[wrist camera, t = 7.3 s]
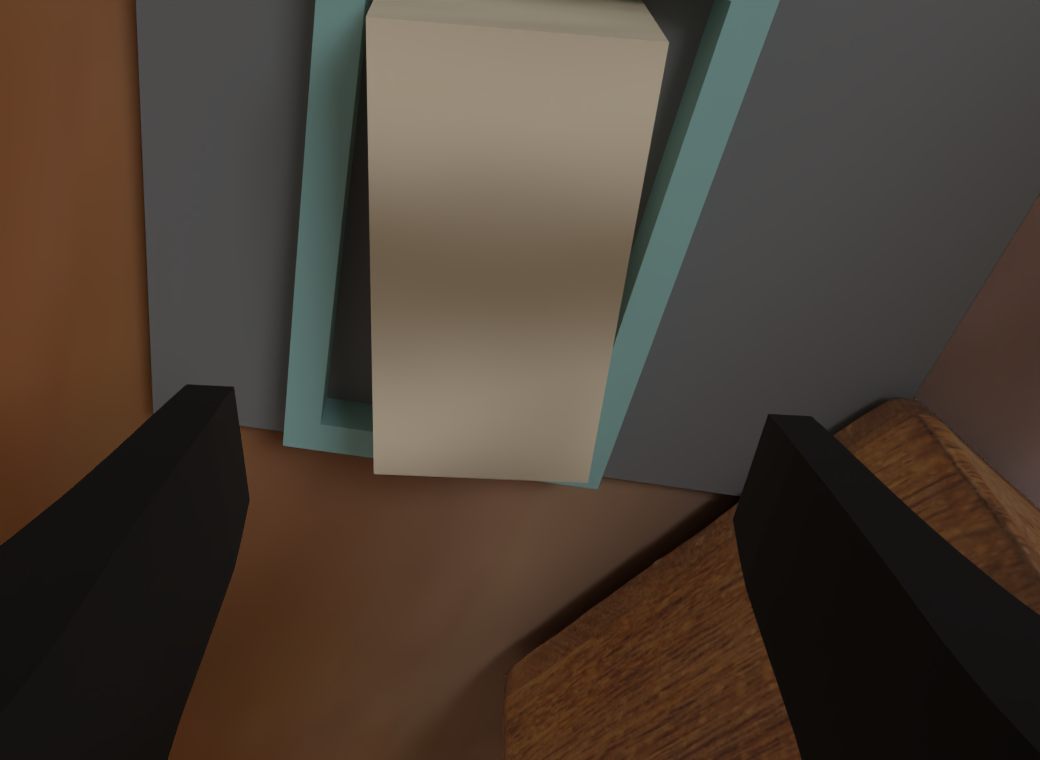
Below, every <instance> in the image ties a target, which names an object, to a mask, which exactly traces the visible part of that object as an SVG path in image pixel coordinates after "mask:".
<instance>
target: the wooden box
mask: <svg viewBox="0 0 1040 760" xmlns="http://www.w3.org/2000/svg"><path fill="white" fill-rule="evenodd" d="M833 436H834V437H835V438H836V439H837V440H838V441H839V442H840V443H841V444H843V445H844V446H845V447H846V448H847V449H848V450H849V451H850V452H851V453H852V454H853V455H854V456H855V457H856V458H857V459H858V460H859V461H860V462H861V463H863V464H864V465H865V466H866V467H867V468H868V469H869V470H870V471H871V472H872V473H873V474H874V475H875V476H876V477H877V478H878V479H879V480H880V481H881V482H882V483H884V484H885V485H886V486H887V487H888V488H889V489H890V490H891V491H892V492H893V493H894V494H895V495H896V496H897V497H898V498H900V499H901V500H902V501H903V502H904V503H905V504H906V505H907V506H908V507H909V508H910V509H911V510H913V511H914V512H915V513H916V514H917V515H918V516H919V517H920V518H921V519H922V520H924V521H925V522H926V523H927V524H928V525H929V526H930V527H931V528H933V529H934V530H935V531H936V532H937V533H938V534H939V535H941V536H942V537H943V538H944V539H945V540H946V541H947V542H949V543H950V544H951V545H952V546H953V547H954V548H955V549H957V550H958V551H959V552H960V553H962V554H963V555H964V556H965V557H966V558H968V559H969V560H970V561H971V562H972V563H974V564H975V565H976V566H977V567H978V568H980V569H981V570H982V571H983V572H984V573H986V574H987V575H988V576H989V577H990V578H992V579H993V580H994V581H995V582H997V583H998V584H999V585H1000V586H1002V587H1003V588H1004V589H1006V590H1007V591H1008V592H1009V593H1011V594H1012V595H1013V596H1015V597H1016V598H1017V599H1018V600H1020V601H1021V602H1022V603H1024V604H1025V605H1027V606H1028V607H1029V608H1031V609H1032V610H1033V611H1035V612H1036V613H1038V614H1039V615H1040V509H1039V508H1037V507H1036V506H1035V505H1034V504H1033V503H1032V502H1031V501H1030V500H1029V499H1027V498H1026V497H1025V496H1024V495H1023V494H1022V493H1021V492H1019V491H1018V490H1017V489H1016V488H1015V487H1014V486H1013V485H1011V484H1010V483H1009V482H1008V481H1007V480H1006V479H1005V478H1004V477H1002V476H1001V475H1000V474H999V473H998V472H997V471H995V470H994V469H993V468H992V467H991V466H990V465H989V464H988V463H986V462H985V461H984V460H983V459H982V458H981V457H980V456H979V455H978V454H977V453H976V452H975V451H973V450H972V449H971V448H970V447H969V446H968V445H967V444H966V443H965V442H964V441H963V440H962V439H961V438H960V437H959V436H957V435H956V434H955V433H954V432H953V431H952V430H951V429H950V428H949V427H948V426H947V425H946V424H944V423H943V422H942V421H941V420H940V419H939V418H938V417H937V416H936V415H935V414H934V413H932V412H931V411H930V410H929V409H928V408H927V407H925V406H924V405H923V404H921V403H919V402H917V401H914V400H910V399H907V398H901V397H894V398H891V399H890V400H888V401H886V402H884V403H882V404H881V405H879V406H877V407H875V408H874V409H872V410H871V411H869V412H868V413H866V414H864V415H863V416H861V417H860V418H858V419H857V420H855V421H854V422H852V423H851V424H849V425H848V426H847V427H845V428H843V429H842V430H840V431H838V432H837V433H836V434H834V435H833ZM737 505H738V503H737V504H736V505H734V506H733V507H732V508H731V509H729V510H728V511H727V512H725V513H724V514H722V515H721V516H720V517H718V518H717V519H716V520H715V521H714V522H712V523H711V524H709V525H708V526H707V527H706V528H704V529H703V530H701V531H700V532H699V533H697V534H696V535H694V536H693V537H691V538H690V539H688V540H687V541H685V542H684V543H683V544H681V545H680V546H678V547H677V548H676V549H674V550H673V551H671V552H670V553H668V554H667V555H665V556H664V557H662V558H660V559H658V560H656V561H655V562H654V563H653V564H652V565H651V566H650V567H648V568H647V569H645V570H644V571H643V572H641V573H640V574H638V575H637V576H635V577H634V578H633V579H631V580H630V581H628V582H627V583H626V584H624V585H623V586H622V587H620V588H619V589H617V590H616V591H615V592H613V594H611V595H610V596H608V597H607V598H605V599H604V600H602V601H601V602H599V603H598V604H596V605H595V606H594V607H592V608H591V609H590V610H588V611H587V612H586V613H584V614H582V615H581V616H580V617H579V618H578V619H576V620H575V621H574V622H573V623H572V624H570V625H568V626H567V627H566V628H565V629H564V630H562V631H561V632H559V633H558V634H556V635H555V636H554V637H552V638H551V639H549V640H547V641H546V642H545V643H543V644H542V645H540V646H538V647H537V648H536V649H534V650H533V651H532V652H530V653H529V654H527V655H526V656H525V657H524V658H522V659H521V660H520V661H518V662H517V663H515V664H514V666H513V667H512V668H511V669H510V671H509V672H507V673H506V674H505V675H504V680H505V688H504V711H503V751H502V760H802V759H801V756H800V752H799V749H798V745H797V742H796V738H795V735H794V732H793V729H792V726H791V723H790V720H789V717H788V714H787V711H786V708H785V705H784V702H783V699H782V696H781V693H780V690H779V687H778V684H777V681H776V678H775V675H774V672H773V669H772V666H771V663H770V660H769V657H768V654H767V651H766V648H765V645H764V642H763V639H762V636H761V633H760V630H759V627H758V624H757V621H756V618H755V615H754V612H753V609H752V606H751V603H750V600H749V596H748V593H747V590H746V587H745V583H744V578H743V573H742V568H741V563H740V558H739V553H738V547H737V541H736V535H735V530H734V524H733V517H734V514H735V511H736V508H737Z"/></svg>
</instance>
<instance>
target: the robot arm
mask: <svg viewBox="0 0 1040 760" xmlns="http://www.w3.org/2000/svg"><path fill="white" fill-rule="evenodd" d="M249 500H250V499H249V492H248V485H247V477H246V470H245V463H244V455H243V448H242V441H241V433H240V426H239V419H238V411H237V404H236V397H235V389H234V387H232V386H212V385H193V384H186V385H185V386H184V387H183V388H182V389H181V390H179V391H178V392H177V393H176V394H175V395H174V396H173V397H172V398H170V399H169V400H168V401H167V402H166V403H165V404H164V405H163V406H162V407H161V408H160V409H159V410H157V411H156V412H155V413H154V414H153V415H152V416H151V417H150V418H149V419H148V420H147V421H146V422H145V423H144V424H143V425H141V426H140V427H139V428H138V429H137V430H136V431H135V432H134V433H133V434H132V435H131V436H130V437H129V438H127V439H126V440H125V441H124V442H123V443H122V444H121V445H120V446H119V447H118V448H117V449H116V450H114V451H113V452H112V453H111V454H110V455H109V456H108V457H107V458H105V459H104V460H103V461H102V462H101V463H100V464H99V465H98V466H96V467H95V468H94V469H93V470H92V471H91V472H90V473H89V474H87V475H86V476H85V477H84V478H83V479H82V480H81V481H79V482H78V483H77V484H76V485H75V486H74V487H73V488H71V489H70V490H69V491H68V492H67V493H66V494H64V495H63V496H62V497H61V498H60V499H58V500H57V501H56V502H55V503H53V504H52V505H51V506H50V507H48V508H47V509H46V510H45V511H43V512H42V513H41V514H40V515H39V516H37V517H36V518H35V519H34V520H32V521H31V522H30V523H29V524H27V525H26V526H25V527H24V528H22V529H21V530H20V531H19V532H17V533H16V534H15V535H14V536H12V537H11V538H10V539H9V540H7V541H6V542H5V543H3V544H2V545H1V546H0V760H168V756H169V753H170V750H171V747H172V743H173V740H174V737H175V734H176V731H177V727H178V724H179V721H180V718H181V715H182V713H183V710H184V707H185V704H186V702H187V699H188V696H189V693H190V691H191V688H192V685H193V682H194V680H195V677H196V674H197V671H198V669H199V666H200V663H201V660H202V658H203V655H204V652H205V649H206V647H207V644H208V641H209V638H210V636H211V633H212V630H213V627H214V625H215V622H216V619H217V616H218V613H219V611H220V608H221V605H222V602H223V599H224V597H225V594H226V591H227V588H228V585H229V582H230V580H231V577H232V574H233V571H234V568H235V564H236V560H237V555H238V551H239V547H240V542H241V538H242V533H243V529H244V524H245V519H246V514H247V510H248V505H249ZM733 524H734V530H735V535H736V541H737V547H738V553H739V558H740V563H741V568H742V573H743V578H744V583H745V587H746V590H747V593H748V596H749V600H750V603H751V606H752V609H753V612H754V615H755V618H756V621H757V624H758V627H759V630H760V633H761V636H762V639H763V642H764V645H765V648H766V651H767V654H768V657H769V660H770V663H771V666H772V669H773V672H774V675H775V678H776V681H777V684H778V687H779V690H780V693H781V696H782V699H783V702H784V705H785V708H786V711H787V714H788V717H789V720H790V723H791V726H792V729H793V732H794V735H795V738H796V742H797V745H798V749H799V752H800V756H801V759H802V760H1040V615H1039V614H1038V613H1036V612H1035V611H1033V610H1032V609H1031V608H1029V607H1028V606H1027V605H1025V604H1024V603H1022V602H1021V601H1020V600H1018V599H1017V598H1016V597H1015V596H1013V595H1012V594H1011V593H1009V592H1008V591H1007V590H1006V589H1004V588H1003V587H1002V586H1000V585H999V584H998V583H997V582H995V581H994V580H993V579H992V578H990V577H989V576H988V575H987V574H986V573H984V572H983V571H982V570H981V569H980V568H978V567H977V566H976V565H975V564H974V563H972V562H971V561H970V560H969V559H968V558H966V557H965V556H964V555H963V554H962V553H960V552H959V551H958V550H957V549H955V548H954V547H953V546H952V545H951V544H950V543H949V542H947V541H946V540H945V539H944V538H943V537H942V536H941V535H939V534H938V533H937V532H936V531H935V530H934V529H933V528H931V527H930V526H929V525H928V524H927V523H926V522H925V521H924V520H922V519H921V518H920V517H919V516H918V515H917V514H916V513H915V512H914V511H913V510H911V509H910V508H909V507H908V506H907V505H906V504H905V503H904V502H903V501H902V500H901V499H900V498H898V497H897V496H896V495H895V494H894V493H893V492H892V491H891V490H890V489H889V488H888V487H887V486H886V485H885V484H884V483H882V482H881V481H880V480H879V479H878V478H877V477H876V476H875V475H874V474H873V473H872V472H871V471H870V470H869V469H868V468H867V467H866V466H865V465H864V464H863V463H861V462H860V461H859V460H858V459H857V458H856V457H855V456H854V455H853V454H852V453H851V452H850V451H849V450H848V449H847V448H846V447H845V446H844V445H843V444H841V443H840V442H839V441H838V440H837V439H836V438H835V437H834V436H833V435H832V434H831V433H830V432H829V431H828V430H826V429H825V428H824V427H823V426H822V425H821V424H820V423H819V422H817V421H816V420H815V419H814V418H813V417H812V416H799V415H780V414H768V416H767V419H766V422H765V425H764V428H763V431H762V434H761V437H760V440H759V443H758V446H757V449H756V452H755V455H754V458H753V461H752V464H751V467H750V470H749V473H748V476H747V478H746V481H745V484H744V487H743V490H742V493H741V496H740V499H739V502H738V505H737V508H736V511H735V514H734V517H733Z"/></svg>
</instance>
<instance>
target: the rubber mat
mask: <svg viewBox="0 0 1040 760" xmlns="http://www.w3.org/2000/svg"><path fill="white" fill-rule="evenodd" d="M315 1H316V0H136V16H137V40H138V64H139V87H140V111H141V135H142V158H143V182H144V206H145V229H146V253H147V277H148V300H149V324H150V348H151V371H152V395H153V413H155V412H156V411H157V410H159V409H160V408H161V407H162V406H163V405H164V404H165V403H166V402H167V401H168V400H169V399H170V398H172V397H173V396H174V395H175V394H176V393H177V392H178V391H179V390H181V389H182V388H183V387H184V386H185V385H186V384H193V385H212V386H232V387H234V389H235V397H236V404H237V411H238V419H239V426H246V427H253V428H260V429H267V430H274V431H281V432H284V423H285V409H286V396H287V382H288V368H289V355H290V341H291V328H292V314H293V300H294V287H295V273H296V260H297V246H298V232H299V219H300V205H301V192H302V178H303V165H304V151H305V137H306V124H307V110H308V97H309V83H310V69H311V56H312V42H313V29H314V15H315ZM642 1H643V3H644V4H645V6H646V7H647V9H648V11H649V12H650V14H651V15H652V17H653V18H654V20H655V21H656V23H657V24H658V26H659V27H660V29H661V30H662V32H663V34H664V35H665V37H666V38H667V40H668V41H669V46H668V52H667V57H666V62H665V68H664V73H663V79H662V84H661V89H660V95H659V100H658V106H657V111H656V117H655V122H654V127H653V133H652V138H651V144H650V149H649V154H648V160H647V165H646V171H645V176H644V182H643V187H642V192H641V198H640V203H639V209H638V214H637V220H636V225H635V230H634V236H633V241H632V247H631V251H632V248H633V245H634V242H635V239H636V236H637V233H638V229H639V226H640V223H641V220H642V217H643V214H644V211H645V208H646V205H647V202H648V199H649V196H650V193H651V190H652V187H653V184H654V181H655V178H656V175H657V172H658V169H659V166H660V163H661V160H662V157H663V154H664V151H665V148H666V145H667V142H668V139H669V136H670V133H671V130H672V127H673V124H674V121H675V117H676V114H677V111H678V108H679V105H680V102H681V99H682V96H683V93H684V90H685V87H686V84H687V81H688V78H689V75H690V72H691V69H692V66H693V63H694V60H695V57H696V54H697V51H698V48H699V45H700V42H701V39H702V36H703V33H704V30H705V27H706V24H707V21H708V18H709V15H710V12H711V9H712V6H713V2H714V0H642ZM372 2H373V0H370V6H371V4H372ZM369 8H370V7H369ZM1039 194H1040V0H780V1H779V4H778V7H777V9H776V12H775V15H774V17H773V20H772V23H771V25H770V28H769V31H768V34H767V36H766V39H765V42H764V44H763V47H762V50H761V52H760V55H759V58H758V60H757V63H756V66H755V68H754V71H753V74H752V76H751V79H750V82H749V85H748V87H747V90H746V93H745V95H744V98H743V101H742V103H741V106H740V109H739V111H738V114H737V117H736V119H735V122H734V125H733V127H732V130H731V133H730V135H729V138H728V141H727V144H726V146H725V149H724V152H723V154H722V157H721V160H720V162H719V165H718V168H717V170H716V173H715V176H714V178H713V181H712V184H711V186H710V189H709V192H708V195H707V197H706V200H705V203H704V205H703V208H702V211H701V213H700V216H699V219H698V221H697V224H696V227H695V229H694V232H693V235H692V237H691V240H690V243H689V245H688V248H687V251H686V254H685V256H684V259H683V262H682V264H681V267H680V270H679V272H678V275H677V278H676V280H675V283H674V286H673V288H672V291H671V294H670V296H669V299H668V302H667V305H666V307H665V310H664V313H663V315H662V318H661V321H660V323H659V326H658V329H657V331H656V334H655V337H654V339H653V342H652V345H651V347H650V350H649V353H648V355H647V358H646V361H645V364H644V366H643V369H642V372H641V374H640V377H639V380H638V382H637V385H636V388H635V390H634V393H633V396H632V398H631V401H630V404H629V406H628V409H627V412H626V415H625V417H624V420H623V423H622V425H621V428H620V431H619V433H618V436H617V439H616V441H615V444H614V447H613V449H612V452H611V455H610V457H609V460H608V463H607V465H606V468H605V471H604V474H603V476H602V477H607V478H614V479H621V480H628V481H635V482H642V483H649V484H656V485H663V486H670V487H677V488H684V489H692V490H699V491H706V492H713V493H720V494H727V495H734V496H741V493H742V490H743V487H744V484H745V481H746V478H747V476H748V473H749V470H750V467H751V464H752V461H753V458H754V455H755V452H756V449H757V446H758V443H759V440H760V437H761V434H762V431H763V428H764V425H765V422H766V419H767V416H768V414H780V415H799V416H812V417H813V418H814V419H815V420H816V421H817V422H819V423H820V424H821V425H822V426H823V427H824V428H825V429H826V430H828V431H829V432H830V433H831V434H832V435H834V434H836V433H837V432H838V431H840V430H842V429H843V428H845V427H847V426H848V425H849V424H851V423H852V422H854V421H855V420H857V419H858V418H860V417H861V416H863V415H864V414H866V413H868V412H869V411H871V410H872V409H874V408H875V407H877V406H879V405H881V404H882V403H884V402H886V401H888V400H890V399H891V398H894V397H901V398H907V399H910V400H913V398H914V397H915V395H916V394H917V392H918V390H919V389H920V387H921V385H922V384H923V382H924V381H925V379H926V377H927V376H928V374H929V373H930V371H931V369H932V368H933V366H934V364H935V363H936V361H937V360H938V358H939V356H940V355H941V353H942V351H943V350H944V348H945V347H946V345H947V343H948V342H949V340H950V338H951V337H952V335H953V334H954V332H955V330H956V329H957V327H958V326H959V324H960V322H961V321H962V319H963V317H964V316H965V314H966V313H967V311H968V309H969V308H970V306H971V304H972V303H973V301H974V300H975V298H976V296H977V295H978V293H979V291H980V290H981V288H982V287H983V285H984V283H985V282H986V280H987V279H988V277H989V275H990V274H991V272H992V270H993V269H994V267H995V266H996V264H997V262H998V261H999V259H1000V257H1001V256H1002V254H1003V253H1004V251H1005V249H1006V248H1007V246H1008V244H1009V243H1010V241H1011V240H1012V238H1013V236H1014V235H1015V233H1016V232H1017V230H1018V228H1019V227H1020V225H1021V223H1022V222H1023V220H1024V219H1025V217H1026V215H1027V214H1028V212H1029V210H1030V209H1031V207H1032V206H1033V204H1034V202H1035V201H1036V199H1037V198H1038V196H1039ZM630 254H631V252H630ZM327 398H332V399H339V400H345V401H352V402H359V403H366V404H372V405H373V400H372V343H371V287H370V230H369V173H368V117H367V60H366V44H365V53H364V62H363V71H362V81H361V90H360V99H359V108H358V117H357V127H356V136H355V145H354V154H353V163H352V172H351V182H350V191H349V200H348V209H347V218H346V228H345V237H344V246H343V255H342V264H341V274H340V283H339V292H338V301H337V310H336V320H335V329H334V338H333V347H332V356H331V366H330V375H329V384H328V393H327Z"/></svg>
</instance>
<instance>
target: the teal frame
mask: <svg viewBox="0 0 1040 760" xmlns="http://www.w3.org/2000/svg"><path fill="white" fill-rule="evenodd" d="M779 1H780V0H714V2H713V6H712V9H711V12H710V15H709V18H708V21H707V24H706V27H705V30H704V33H703V36H702V39H701V42H700V45H699V48H698V51H697V54H696V57H695V60H694V63H693V66H692V69H691V72H690V75H689V78H688V81H687V84H686V87H685V90H684V93H683V96H682V99H681V102H680V105H679V108H678V111H677V114H676V117H675V121H674V124H673V127H672V130H671V133H670V136H669V139H668V142H667V145H666V148H665V151H664V154H663V157H662V160H661V163H660V166H659V169H658V172H657V175H656V178H655V181H654V184H653V187H652V190H651V193H650V196H649V199H648V202H647V205H646V208H645V211H644V214H643V217H642V220H641V223H640V226H639V229H638V233H637V236H636V239H635V242H634V245H633V248H632V251H631V254H630V257H629V263H628V268H627V274H626V279H625V285H624V290H623V295H622V301H621V306H620V312H619V317H618V322H617V328H616V333H615V339H614V344H613V350H612V355H611V360H610V366H609V371H608V377H607V382H606V388H605V393H604V398H603V404H602V409H601V415H600V420H599V425H598V431H597V436H596V442H595V447H594V453H593V458H592V463H591V469H590V474H589V480H588V483H577V482H553V481H541V482H548V483H555V484H563V485H570V486H577V487H584V488H591V489H598V487H599V484H600V482H601V479H602V476H603V474H604V471H605V468H606V465H607V463H608V460H609V457H610V455H611V452H612V449H613V447H614V444H615V441H616V439H617V436H618V433H619V431H620V428H621V425H622V423H623V420H624V417H625V415H626V412H627V409H628V406H629V404H630V401H631V398H632V396H633V393H634V390H635V388H636V385H637V382H638V380H639V377H640V374H641V372H642V369H643V366H644V364H645V361H646V358H647V355H648V353H649V350H650V347H651V345H652V342H653V339H654V337H655V334H656V331H657V329H658V326H659V323H660V321H661V318H662V315H663V313H664V310H665V307H666V305H667V302H668V299H669V296H670V294H671V291H672V288H673V286H674V283H675V280H676V278H677V275H678V272H679V270H680V267H681V264H682V262H683V259H684V256H685V254H686V251H687V248H688V245H689V243H690V240H691V237H692V235H693V232H694V229H695V227H696V224H697V221H698V219H699V216H700V213H701V211H702V208H703V205H704V203H705V200H706V197H707V195H708V192H709V189H710V186H711V184H712V181H713V178H714V176H715V173H716V170H717V168H718V165H719V162H720V160H721V157H722V154H723V152H724V149H725V146H726V144H727V141H728V138H729V135H730V133H731V130H732V127H733V125H734V122H735V119H736V117H737V114H738V111H739V109H740V106H741V103H742V101H743V98H744V95H745V93H746V90H747V87H748V85H749V82H750V79H751V76H752V74H753V71H754V68H755V66H756V63H757V60H758V58H759V55H760V52H761V50H762V47H763V44H764V42H765V39H766V36H767V34H768V31H769V28H770V25H771V23H772V20H773V17H774V15H775V12H776V9H777V7H778V4H779ZM369 7H370V0H316V1H315V15H314V29H313V42H312V56H311V69H310V83H309V97H308V110H307V124H306V137H305V151H304V165H303V178H302V192H301V205H300V219H299V232H298V246H297V260H296V273H295V287H294V300H293V314H292V328H291V341H290V355H289V368H288V382H287V396H286V409H285V423H284V436H283V446H289V447H296V448H303V449H311V450H318V451H325V452H332V453H339V454H347V455H354V456H361V457H368V458H374V457H373V405H372V404H366V403H359V402H352V401H345V400H339V399H332V398H327V393H328V384H329V375H330V366H331V356H332V347H333V338H334V329H335V320H336V310H337V301H338V292H339V283H340V274H341V264H342V255H343V246H344V237H345V228H346V218H347V209H348V200H349V191H350V182H351V172H352V163H353V154H354V145H355V136H356V127H357V117H358V108H359V99H360V90H361V81H362V71H363V62H364V53H365V44H366V15H367V13H368V11H369Z"/></svg>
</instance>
